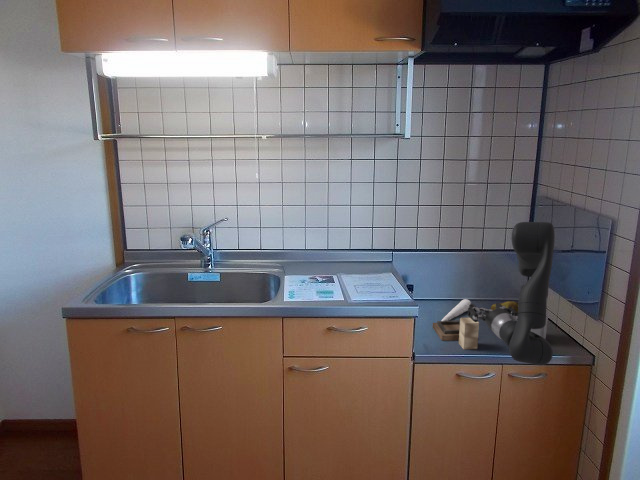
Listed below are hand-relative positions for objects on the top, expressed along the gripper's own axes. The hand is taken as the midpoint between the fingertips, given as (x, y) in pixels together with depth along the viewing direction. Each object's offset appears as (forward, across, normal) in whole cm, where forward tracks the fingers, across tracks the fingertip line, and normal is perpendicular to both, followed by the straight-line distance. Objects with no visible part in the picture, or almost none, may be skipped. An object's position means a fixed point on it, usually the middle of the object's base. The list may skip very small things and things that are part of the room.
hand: (483, 305), depth 160 cm
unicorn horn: (+40, -4, +20) cm, 45 cm away
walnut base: (+23, +2, +20) cm, 30 cm away
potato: (+36, -25, +20) cm, 48 cm away
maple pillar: (+12, 0, +20) cm, 23 cm away
